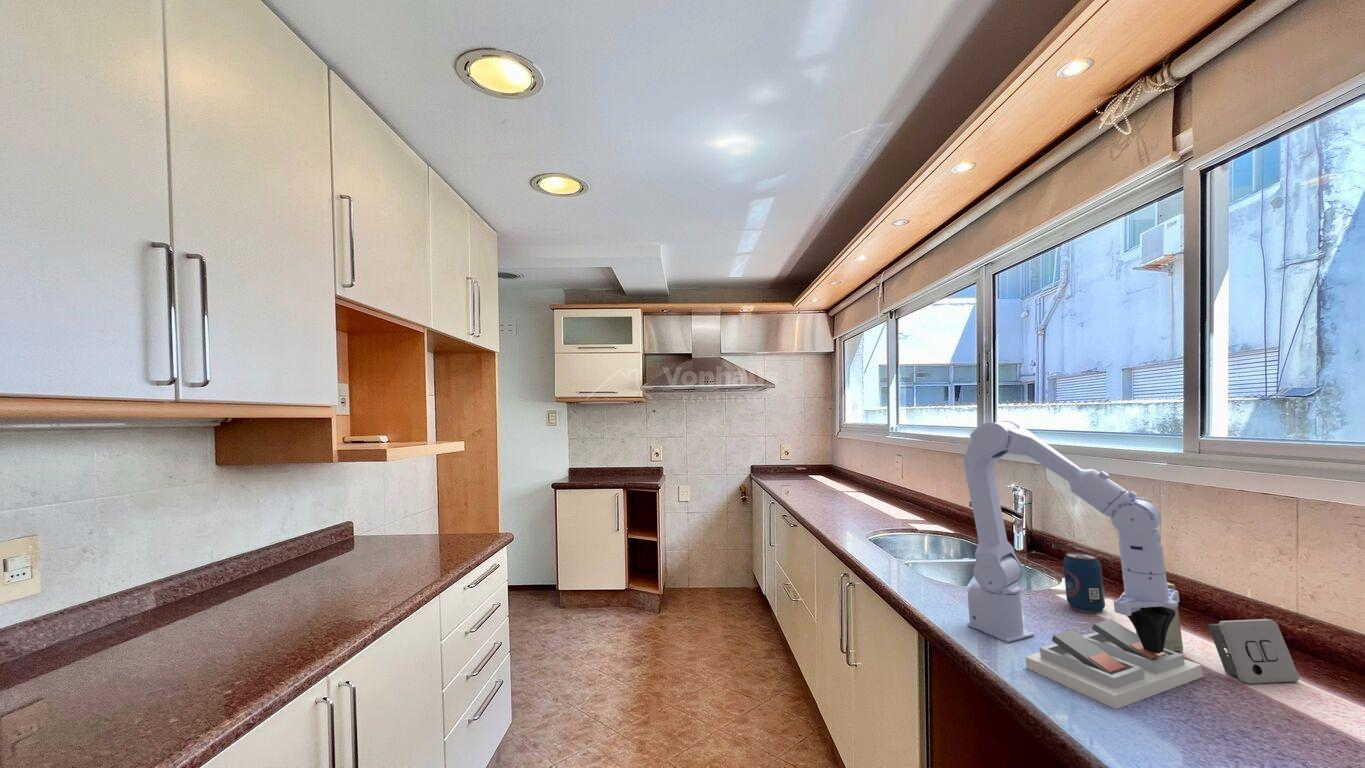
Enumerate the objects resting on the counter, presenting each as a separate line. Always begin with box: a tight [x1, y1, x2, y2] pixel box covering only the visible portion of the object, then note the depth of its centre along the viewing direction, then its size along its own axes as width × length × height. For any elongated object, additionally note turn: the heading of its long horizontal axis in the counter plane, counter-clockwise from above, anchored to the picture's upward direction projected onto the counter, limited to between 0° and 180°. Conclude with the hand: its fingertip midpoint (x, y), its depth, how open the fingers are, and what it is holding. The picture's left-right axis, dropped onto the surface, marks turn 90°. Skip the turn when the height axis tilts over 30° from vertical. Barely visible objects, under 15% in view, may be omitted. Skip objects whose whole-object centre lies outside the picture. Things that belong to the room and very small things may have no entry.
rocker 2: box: [1091, 618, 1169, 661], centre depth 89 cm, size 9×5×1 cm, turn 20°
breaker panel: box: [1025, 631, 1204, 710], centre depth 87 cm, size 14×23×4 cm, turn 110°
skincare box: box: [1135, 581, 1184, 652], centre depth 97 cm, size 6×4×12 cm
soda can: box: [1062, 551, 1106, 614], centre depth 115 cm, size 7×7×12 cm
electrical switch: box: [1207, 618, 1300, 685], centre depth 85 cm, size 9×5×9 cm, turn 90°
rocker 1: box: [1051, 629, 1129, 675], centre depth 86 cm, size 9×5×1 cm, turn 20°
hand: (1153, 650), depth 86 cm, fingers closed, pressing on rocker 2
